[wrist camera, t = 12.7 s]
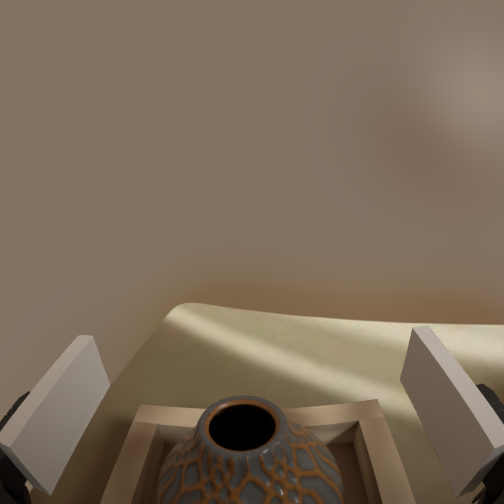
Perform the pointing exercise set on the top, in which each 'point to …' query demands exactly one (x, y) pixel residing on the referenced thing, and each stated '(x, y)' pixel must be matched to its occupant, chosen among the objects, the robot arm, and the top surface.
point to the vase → (249, 460)
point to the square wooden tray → (312, 418)
